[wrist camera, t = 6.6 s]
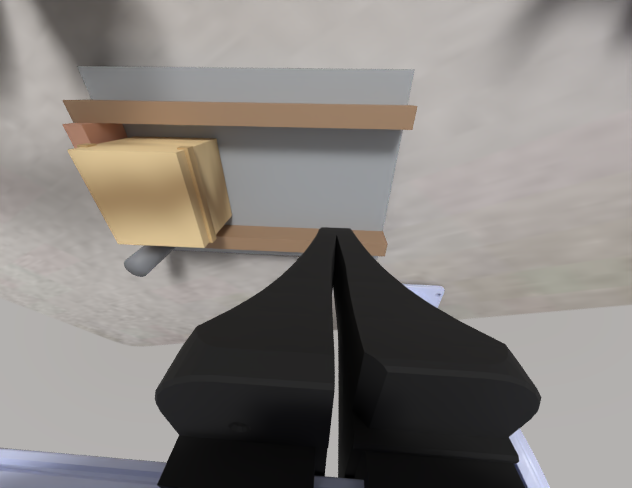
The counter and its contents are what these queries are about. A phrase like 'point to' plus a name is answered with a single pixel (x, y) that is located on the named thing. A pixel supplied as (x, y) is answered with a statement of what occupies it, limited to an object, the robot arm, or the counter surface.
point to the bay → (265, 144)
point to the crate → (157, 189)
